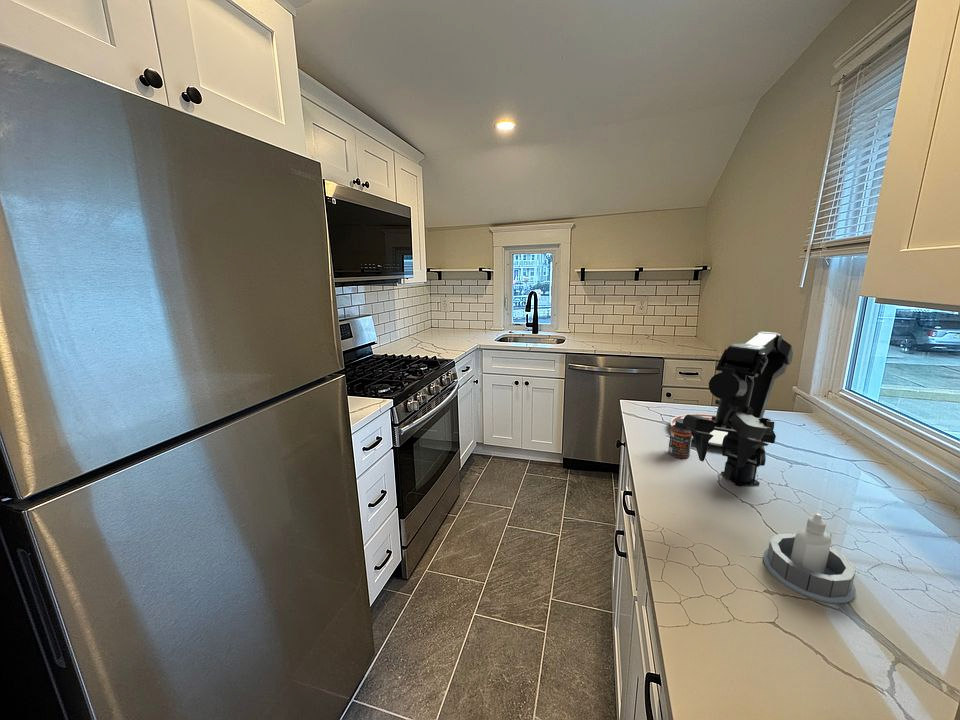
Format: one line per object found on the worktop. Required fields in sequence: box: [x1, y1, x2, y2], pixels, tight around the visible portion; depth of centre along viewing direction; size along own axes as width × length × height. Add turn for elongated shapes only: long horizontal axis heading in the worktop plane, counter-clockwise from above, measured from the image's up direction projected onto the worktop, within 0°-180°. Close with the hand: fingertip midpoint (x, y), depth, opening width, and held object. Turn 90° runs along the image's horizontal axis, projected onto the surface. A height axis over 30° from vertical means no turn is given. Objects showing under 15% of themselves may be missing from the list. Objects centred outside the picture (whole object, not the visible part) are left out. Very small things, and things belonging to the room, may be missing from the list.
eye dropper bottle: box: [790, 512, 832, 574], centre depth 68 cm, size 4×6×12 cm
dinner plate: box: [669, 413, 728, 448], centre depth 128 cm, size 27×27×3 cm
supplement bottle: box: [667, 418, 693, 459], centre depth 114 cm, size 6×6×11 cm
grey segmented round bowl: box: [763, 533, 857, 605], centre depth 69 cm, size 13×13×4 cm
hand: (720, 464), depth 87 cm, fingers open, 9 cm apart
